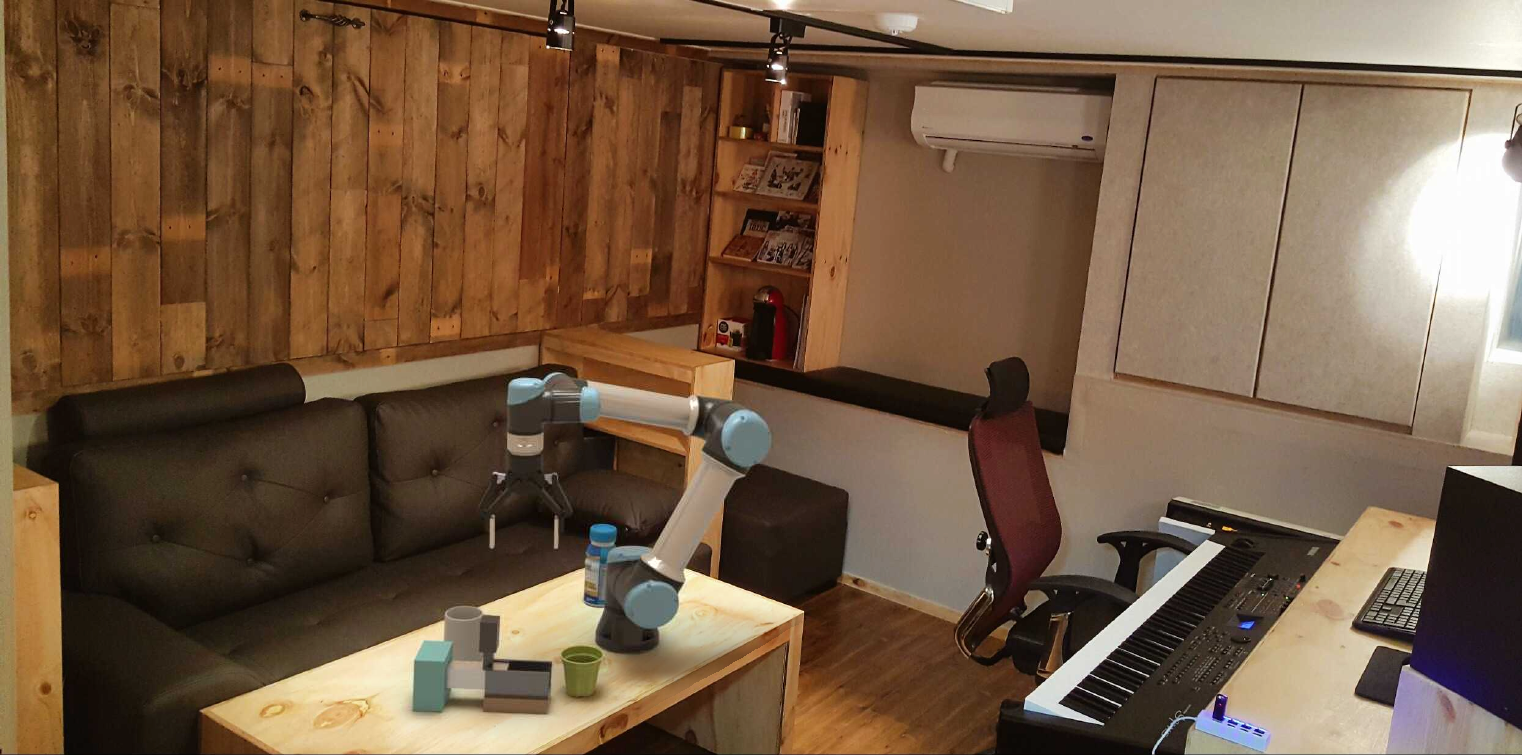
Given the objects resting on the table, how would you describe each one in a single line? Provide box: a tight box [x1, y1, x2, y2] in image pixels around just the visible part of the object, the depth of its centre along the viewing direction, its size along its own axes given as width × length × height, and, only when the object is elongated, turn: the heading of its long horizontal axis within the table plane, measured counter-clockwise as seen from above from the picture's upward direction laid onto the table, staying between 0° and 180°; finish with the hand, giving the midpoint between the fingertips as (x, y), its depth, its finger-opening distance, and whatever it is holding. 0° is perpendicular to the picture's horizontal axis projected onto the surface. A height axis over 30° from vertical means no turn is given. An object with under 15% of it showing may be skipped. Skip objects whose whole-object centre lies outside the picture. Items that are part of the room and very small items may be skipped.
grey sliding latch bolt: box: [445, 614, 509, 691], centre depth 248 cm, size 16×4×15 cm, turn 94°
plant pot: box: [559, 644, 605, 698], centre depth 258 cm, size 9×9×9 cm
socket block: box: [412, 639, 453, 713], centre depth 249 cm, size 6×10×11 cm, turn 4°
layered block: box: [482, 658, 553, 715], centre depth 251 cm, size 13×8×8 cm, turn 94°
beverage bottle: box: [583, 523, 618, 608], centre depth 308 cm, size 8×8×20 cm
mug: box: [443, 605, 491, 662], centre depth 271 cm, size 12×8×11 cm
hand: (524, 546), depth 259 cm, fingers open, 13 cm apart
